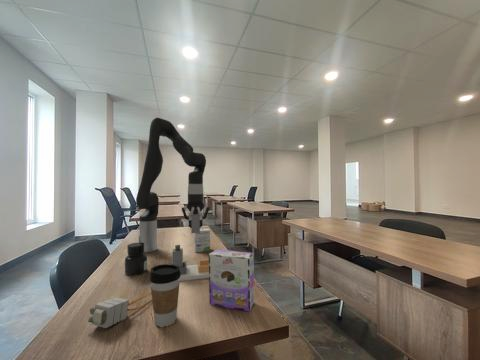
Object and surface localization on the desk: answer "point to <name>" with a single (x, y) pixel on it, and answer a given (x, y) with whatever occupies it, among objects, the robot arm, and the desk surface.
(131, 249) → the ink bottle
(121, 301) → the electrical component
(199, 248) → the ink box
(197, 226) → the plug
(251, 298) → the candy box
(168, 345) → the desk surface
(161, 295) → the coffee cup
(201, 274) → the dock
